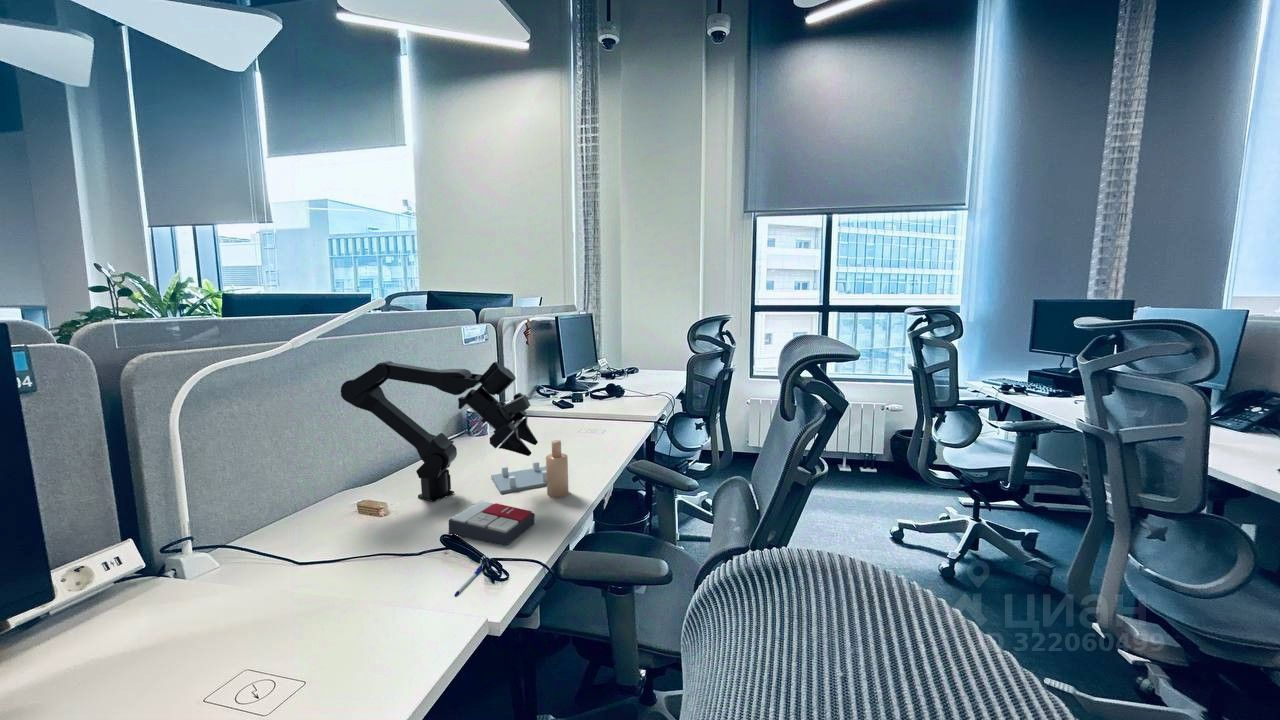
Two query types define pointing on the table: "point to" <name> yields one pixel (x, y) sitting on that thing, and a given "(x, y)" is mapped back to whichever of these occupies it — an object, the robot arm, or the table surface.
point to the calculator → (491, 523)
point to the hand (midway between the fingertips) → (533, 449)
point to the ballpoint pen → (469, 580)
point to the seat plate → (520, 479)
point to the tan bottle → (557, 472)
